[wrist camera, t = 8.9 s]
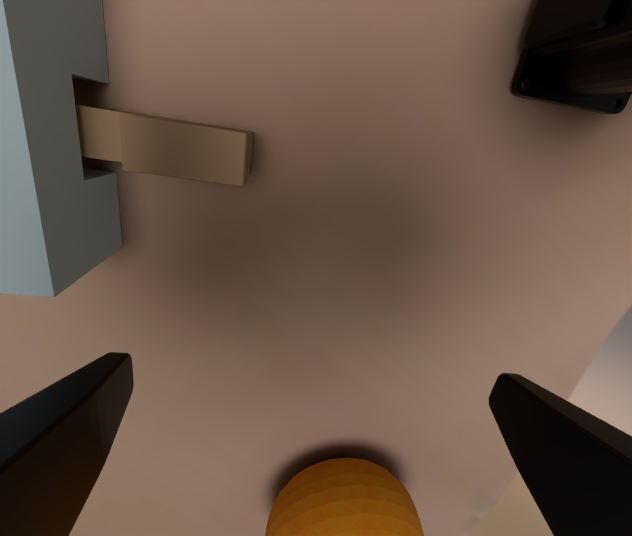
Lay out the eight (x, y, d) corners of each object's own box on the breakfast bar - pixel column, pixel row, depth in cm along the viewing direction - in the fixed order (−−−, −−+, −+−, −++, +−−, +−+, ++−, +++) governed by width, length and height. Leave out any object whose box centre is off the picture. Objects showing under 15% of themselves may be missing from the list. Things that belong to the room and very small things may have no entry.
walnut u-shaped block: (254, 132, 17) (246, 133, 12) (251, 172, 17) (242, 186, 13) (-122, 72, 14) (-286, 49, 10) (-107, 122, 15) (-254, 120, 11)
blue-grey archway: (100, -24, 14) (-20, -127, 8) (122, 246, 18) (54, 297, 13) (33, -39, 13) (-140, -157, 8) (72, 241, 18) (-20, 292, 12)
